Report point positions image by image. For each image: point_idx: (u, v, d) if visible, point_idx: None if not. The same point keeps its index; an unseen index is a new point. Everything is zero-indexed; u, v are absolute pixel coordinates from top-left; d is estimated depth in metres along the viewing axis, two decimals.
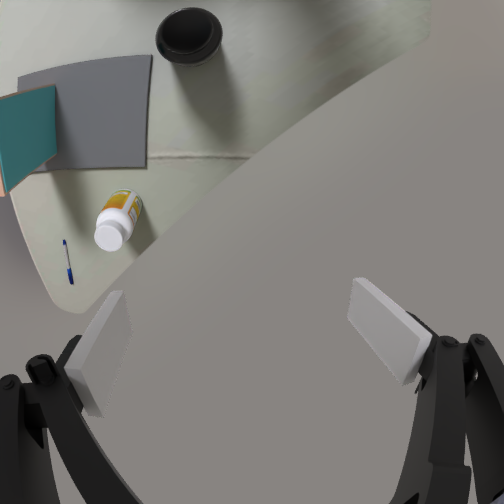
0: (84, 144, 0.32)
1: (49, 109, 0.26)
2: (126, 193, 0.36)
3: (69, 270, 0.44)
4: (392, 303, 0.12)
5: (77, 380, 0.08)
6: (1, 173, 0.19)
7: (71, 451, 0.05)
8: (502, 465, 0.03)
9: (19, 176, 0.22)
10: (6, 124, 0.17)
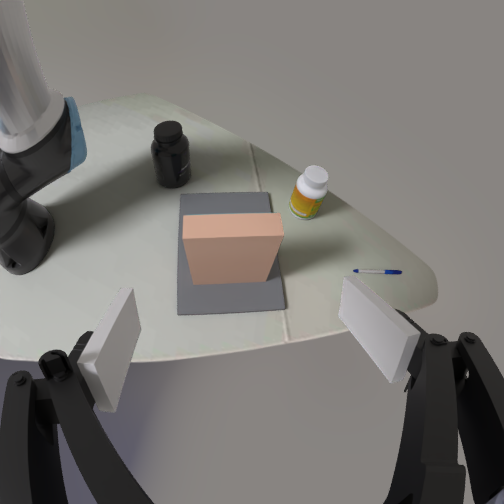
0: None
1: None
2: (290, 199, 0.49)
3: (386, 270, 0.47)
4: (381, 301, 0.13)
5: (90, 375, 0.08)
6: None
7: (82, 446, 0.05)
8: (497, 464, 0.03)
9: None
10: None
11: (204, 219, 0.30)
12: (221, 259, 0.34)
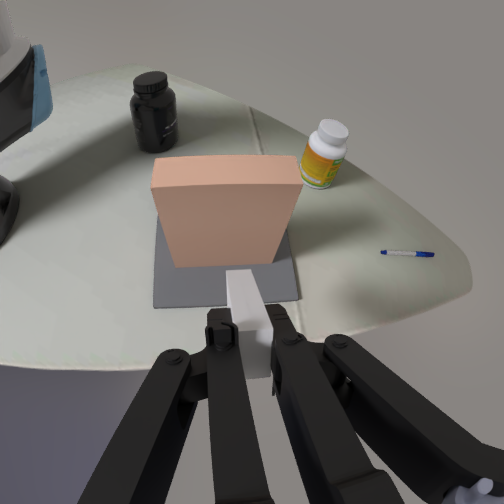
0: None
1: None
2: (300, 164, 0.39)
3: (417, 252, 0.36)
4: (255, 294, 0.14)
5: (246, 342, 0.11)
6: None
7: (223, 415, 0.07)
8: (437, 470, 0.04)
9: None
10: None
11: (185, 162, 0.20)
12: (210, 225, 0.24)
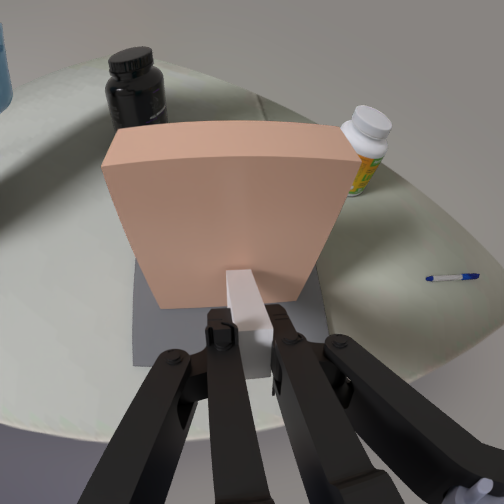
0: None
1: None
2: None
3: (463, 274, 0.27)
4: (255, 294, 0.14)
5: (245, 342, 0.11)
6: None
7: (223, 415, 0.07)
8: (437, 470, 0.04)
9: None
10: None
11: (163, 130, 0.11)
12: (207, 241, 0.15)
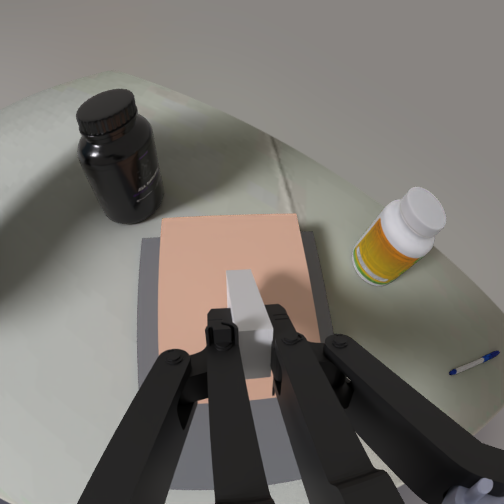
0: None
1: None
2: (358, 248, 0.25)
3: (485, 357, 0.22)
4: (255, 294, 0.14)
5: (246, 342, 0.11)
6: None
7: (223, 415, 0.07)
8: (437, 470, 0.04)
9: None
10: None
11: None
12: (216, 279, 0.20)
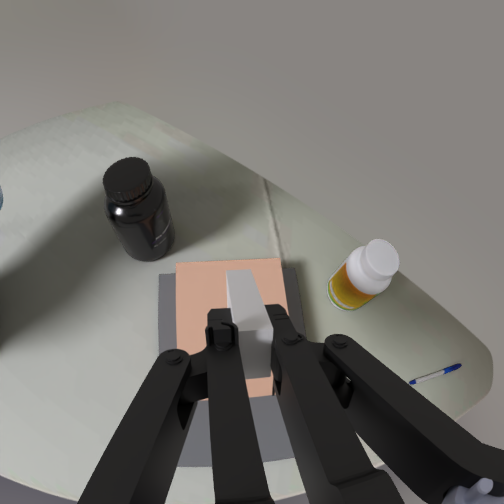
0: None
1: None
2: (330, 282, 0.31)
3: (445, 369, 0.29)
4: (255, 294, 0.14)
5: (246, 342, 0.11)
6: None
7: (223, 415, 0.07)
8: (437, 470, 0.04)
9: None
10: None
11: None
12: None
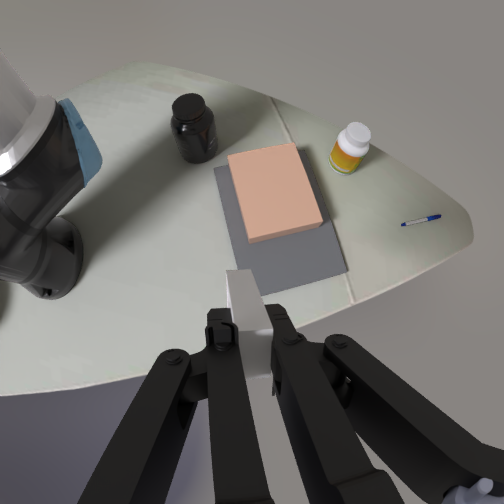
0: None
1: None
2: (330, 156, 0.44)
3: (428, 217, 0.44)
4: (255, 294, 0.14)
5: (246, 342, 0.11)
6: None
7: (223, 415, 0.07)
8: (437, 470, 0.04)
9: None
10: None
11: None
12: (262, 178, 0.41)
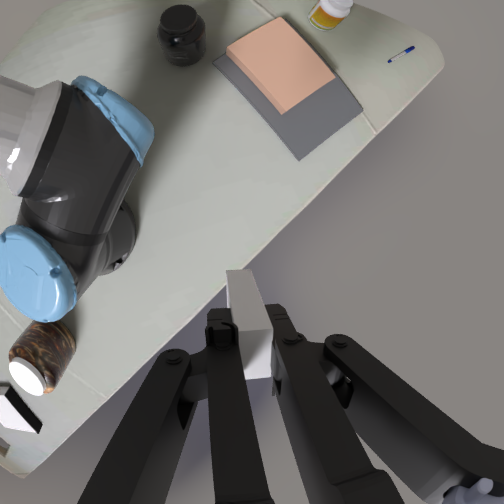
0: None
1: None
2: (312, 18, 0.34)
3: (405, 50, 0.39)
4: (255, 294, 0.14)
5: (246, 342, 0.11)
6: None
7: (223, 415, 0.07)
8: (437, 470, 0.04)
9: None
10: None
11: None
12: (270, 56, 0.34)
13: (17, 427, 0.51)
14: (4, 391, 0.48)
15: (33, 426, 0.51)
